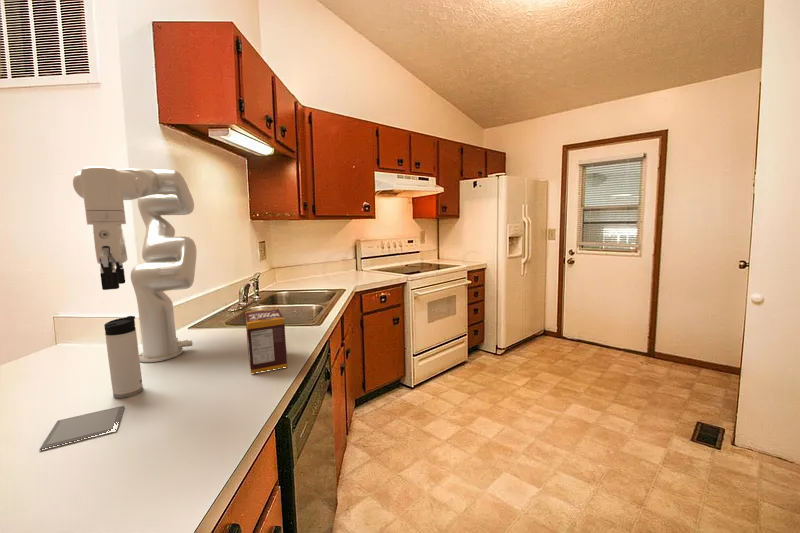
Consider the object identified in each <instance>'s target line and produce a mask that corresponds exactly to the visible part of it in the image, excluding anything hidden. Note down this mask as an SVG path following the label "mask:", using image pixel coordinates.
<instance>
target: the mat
mask: <svg viewBox="0 0 800 533" xmlns="http://www.w3.org/2000/svg"><path fill="white" fill-rule="evenodd" d="M123 409H124V410H125V405H120V406H116V407H111V408H108V409H106V408H105V409H103V410H102V409H101V410H99V411H98V410H97V411H94V412H89V413H85V414H84V413H83V414H81V415H77V416H76V415H75V416H70V417H67V418H63V419H59V420H57V421H56V422H55V424H54V425H53V427H52V429H51V430H50V432H49V433H48V435H47V437H46V438H45V440H44V441H43V443H42V444H41V445H40V447H39V451H40V450H42V449H45V448H49V447H53V446H57V445H62V444H65V443H69V442H74V441H77V440H81V439H84V438H88V437H91V436H95V435H99V434H102V433H106V432H107V431H108V430H109V431H111V429H113V426H114V423H115V424H116V425H117V423H118V422H119V421H120V422H121V420H120V418H122V417H121V415H122V416H123V414H122V412H123V413H124V411H123ZM116 422H117V423H116ZM118 424H119V425H120V423H118ZM115 430H116V429H115ZM109 431H108V432H109Z"/></svg>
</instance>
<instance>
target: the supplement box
mask: <svg viewBox="0 0 800 533" xmlns="http://www.w3.org/2000/svg"><path fill="white" fill-rule="evenodd" d="M245 326H246V327H245V328H246V341H247V353H248V362H249V363H250V364H249V363H248V364H249V370H250V369H251V370H250V374H251V373H256V372H261V371H267V370H273V369H278V368H283V367H287V368H288V360H287V359H288V354H287V344H286V343H287V342H286V341H287V340H286V326H285V318H284V317H283V315H282V313H281V311H280V310H279V308H267V309H260V310H251V311H250V310H249V311H245Z"/></svg>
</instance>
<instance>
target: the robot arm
mask: <svg viewBox="0 0 800 533" xmlns="http://www.w3.org/2000/svg"><path fill="white" fill-rule="evenodd" d="M72 186H73V189H74V191H75V193H76V194H77V195H78V196H79V198H82V199H83V204H84V209H85V210H84V211H85V219H86V224H87V225H88V226H89V225H92V231H93V232H92V233H93V240H94V241H93V242H94V248H95V249H94V250H95V256H96V260H97V262H96V263H97V264H98V265H100V269H99V270H100V281H101V282H100V283H101V288H102V290H103V291H107V290H108V291H109V290H118V289H120V285H121V284H122V285H123V284H126V277H125V268H124V265H123V264H124V263H126V262H127V261H128V254H127V248H126V247H127V246H126V241H125V235H124V230H123V225H127V220H126V212H125V205H124V204H125V203H124V201H133V200H136V199H137V207H138V211H139V213H140V216H141V218H142V221H143V223H144V226H145V236H144V240H143V244H142V252H141V256H142V259H143V261H144V262H143V263H139V264H137V265H135V266H134V267H132V269H131V271H130V282H131V284H132V288H133V290H134V294H135V299H136V303H137V311H138V317H139V318H138V319H139V326H140V334H141V343H142V344H141V345H142V352H141V353H139V360H140V363H156V362H162V361H168V360H171V359H174V358H175V357H178V356H180V355H181V354H183V352H184V348H188V347H193V340H192V339H191V340H188V339H185V340H179V339H178V337H177V333H176V332H177V331H176V322H175V321H176V320H175V313H174V303H173V301H172V299H171V298H170V297H169V296H168V295H167V294H166V293H165V292H166V291H178V290H181V291H182V290H187V289H190V288H191V287H192V286H193V284H194V282H195V275H196V265H197V254H198V253H197V247H196V246H197V245H196V242H195V241H194V239H192V238H191V237H188V236H175V235H176V230H175V227H174V226H173V225H172V224H171V223H170V222H169V221H167V219H165V218H163V217H162V216H186V215H190V214H192V213H193V212H194V209H195V203H194V198H193V196H192V194H191V191H190V189H189V187H188V184H187V182H186V180H185V178H184V177H183V175H182V174H181V173H180V172H179V171H178V170H176V169H165V168H164V169H159V168H157V169H156V168H155V169H154V168H123V169H115V168H112V167H106V166H84V167H83V168H82V169H81V170H79V171H78V172H76V174H75V175H74V177H73V180H72Z"/></svg>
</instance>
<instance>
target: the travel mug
mask: <svg viewBox="0 0 800 533" xmlns="http://www.w3.org/2000/svg"><path fill="white" fill-rule="evenodd" d="M135 319H136V316H135V315H127V316H125V317H121V318H115V319H113V320H109V321H107V322H106V323H105V324H104V331H105V332H104V333H105V334H104V335H105V343H106V350H107V352H106V353H107V358H108V366H109V373H110V374H109V375H110V381H111V387H112V388H111V390H112V396H113V397H114V398H115V399H125V398H124V397H126V398H130V397H133V396H136V395H138V394H139V392H140V393H141V392H142V391H143V390H144V386H143V377H142V369H141V361H140V360H139V355H140V352H139V344H138V336H137V329H136V322H135ZM137 393H138V394H137ZM135 394H136V395H135ZM132 395H133V396H132ZM129 396H130V397H129Z"/></svg>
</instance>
